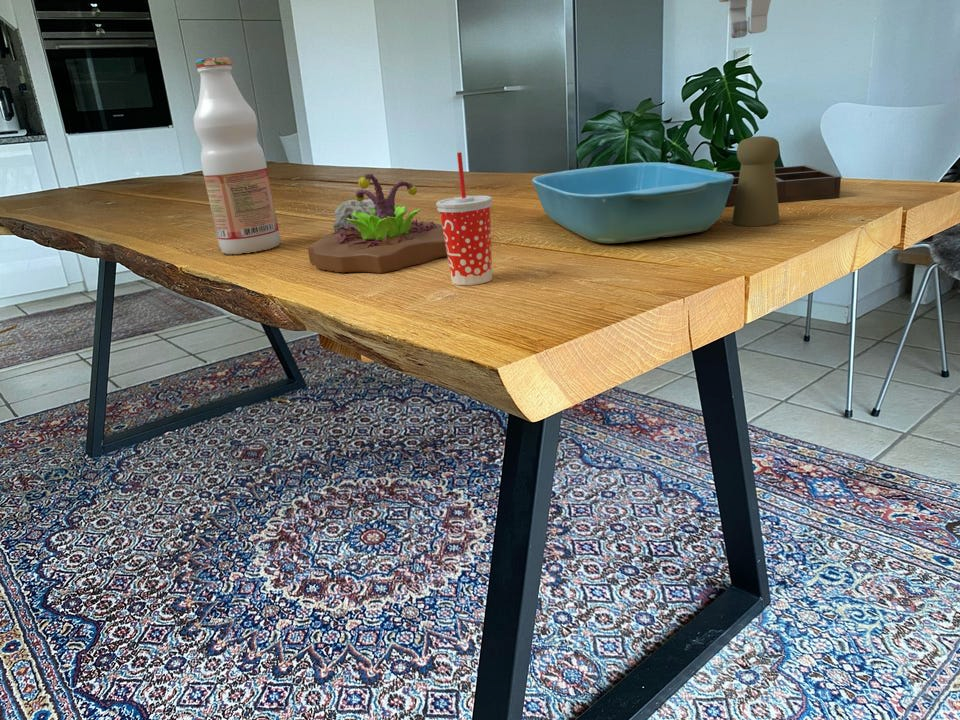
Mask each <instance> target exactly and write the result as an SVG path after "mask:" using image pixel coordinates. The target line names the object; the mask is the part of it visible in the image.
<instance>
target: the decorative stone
mask: <svg viewBox="0 0 960 720" xmlns="http://www.w3.org/2000/svg"><path fill="white" fill-rule="evenodd" d="M372 208H375V204H374V203H373V201H372V200H371V199H369V198H368V199H364V200H363V201H361V202H360V201H357V200H356V199H348V200H346V201H343V202H342V203H341V204H339V205H338V207H337V208H336V209H335V211H334V213H333V214H334V217H335V219H334V221H333V226H332V227H333V229H334V231H335V233H337V230H338V228H339V227H344V228H346V229H347V228H348V227H351V226H353V227H354V228H355V229H358V228H357V226H356V225H355V224H353V223H351V222H350V221H348V220H347V218H349V219H353V220H358V219H357V218H356V217H354V215H353V214H354V212H355V211H357V212H363V213H366V214H368V215H370V216H371V209H372ZM358 221H359V220H358ZM349 229H351V228H349ZM342 230H344V229H340V230H339V231H338V233H339V232H340V231H342Z"/></svg>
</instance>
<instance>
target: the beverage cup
mask: <svg viewBox="0 0 960 720" xmlns="http://www.w3.org/2000/svg"><path fill="white" fill-rule="evenodd" d="M456 155H457V156H456V157H457V166H458V175H459V186H460V194H461V195H460V196H457V197H451V198H444V199H441V200H439V201H437V202H436V204H435V205H436V207H437V209H436V211H437V212H439V215H440V221H441V225H442V228H443V233H444V239H445V245H446V251H447V262H448V267H449V272H450V278H451V283H453V285H457V286H473V285H481V284H484V283H488V282H490V281H492V279H493V260H492V259H493V258H492V253H493V252H492V224H491V222H492V221H491V220H492V219H491V207H492V206H493V202H492V201H493V197H492V196H490V195H466V194H467V193H466V183H465V175H464V173H465V172H464V165H463V164H464V163H463V155H462V152H461V151H460V152H457V153H456Z"/></svg>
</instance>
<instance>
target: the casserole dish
mask: <svg viewBox="0 0 960 720" xmlns="http://www.w3.org/2000/svg"><path fill="white" fill-rule="evenodd" d="M722 172H723V171H716V170H711V169H706V168H699V167H694V166H690V165H685V164H684V165H683V164H677V163H670V162H659V161H658V162H657V161H655V162H654V161H653V162H652V161H651V162H632V163H623V164H610V165H602V166H601V165H600V166H594V167H585V168H576V169H570V170H563V171H556V172H551V173H545V174H542V175H537V176H535V177H533V178H532V180H531V181H532V185H533V187H534V189H535V192H536V194H537V197H538V200H539V202H540V205H541V207H542V209H543V211H544V213H545V214H546V216H547V217H549V219H550V220H551V221H554V222H555V223H556V224H558V225H560V226H561V227H562V228H565V229H567V230H568V231H570V232H573V233H574V234H576V235H578V236H580V237H582V238H585V239H586V240H589V241H592V242H596V243H602V244H618V243H619V244H620V243H628V242H638V241H639V242H640V241H645V240H655V239H658V238H660V237H661V238H668V237H677V236H683V235H689V234H695V233H701V232H705V231H707V230H708V229H709V228H711V226H713V225H714V224H715V223H716V222H717V221H718V220H719V219H720V218H721V216H722V214H723V211H724V209H725V207H726V206H725V204H726V202H727V199H728V195H729V192H730V189H731V186H732V183H733V181H734V176H733V175H731V174H728V173H722Z"/></svg>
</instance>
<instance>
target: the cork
mask: <svg viewBox="0 0 960 720" xmlns="http://www.w3.org/2000/svg"><path fill="white" fill-rule="evenodd" d="M779 154H780V143H779V141H778V139H776V138H775V137H772V136H767V135H765V136H764V135H760V136H758V135H757V136H751V137H748V138H745V139H742V140H741V141H740V142H739V143H738V145H737V148H736V158H737V161H738V162H739V164H740V169H739V171H740V174H739V180H738V187H737V193H736V199H735V206H733V212H732V219H731V224H733V225H735V226H741V227H763V226H771V225H776V224H778V223H780V221H781V220H780V219H781V218H780V209H779V202H778V197H777V187H776V176H775V168H776V165H775V162H776V161H777V159H778V157H779Z"/></svg>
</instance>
